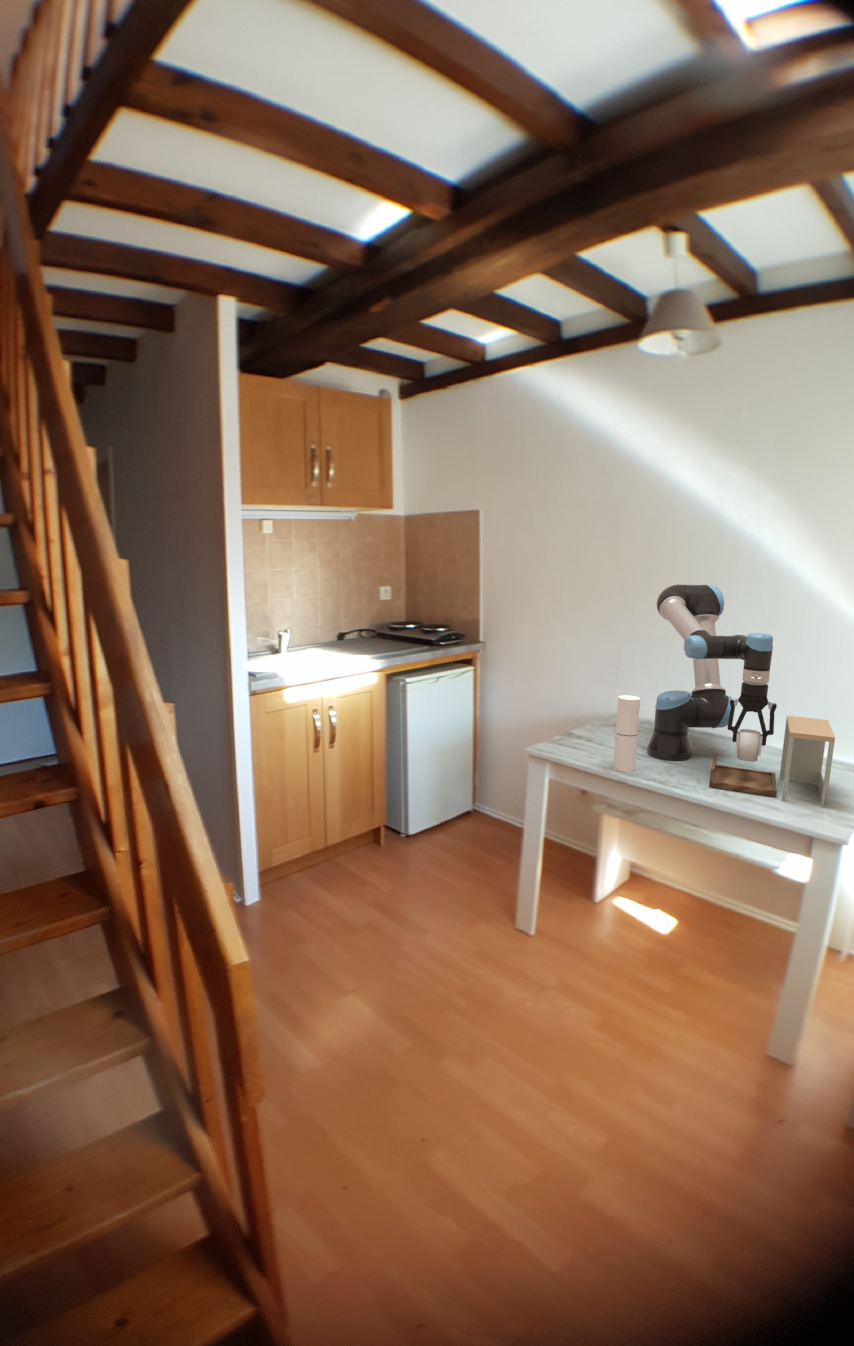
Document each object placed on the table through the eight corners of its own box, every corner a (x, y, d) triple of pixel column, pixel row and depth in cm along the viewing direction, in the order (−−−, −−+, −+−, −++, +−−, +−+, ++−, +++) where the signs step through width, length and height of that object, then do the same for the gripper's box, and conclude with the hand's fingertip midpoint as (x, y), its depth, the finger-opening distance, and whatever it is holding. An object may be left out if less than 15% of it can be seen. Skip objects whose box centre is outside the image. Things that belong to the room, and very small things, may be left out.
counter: (781, 800, 204) (789, 732, 200) (779, 778, 224) (786, 715, 220) (825, 807, 199) (835, 737, 195) (819, 784, 219) (827, 720, 215)
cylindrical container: (623, 773, 227) (628, 700, 222) (608, 766, 233) (613, 696, 228) (639, 770, 230) (644, 698, 225) (624, 764, 236) (629, 694, 231)
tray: (709, 786, 214) (710, 768, 213) (712, 769, 231) (714, 752, 230) (776, 796, 206) (778, 778, 205) (774, 778, 223) (776, 761, 221)
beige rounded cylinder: (736, 759, 215) (739, 732, 213) (737, 755, 220) (739, 728, 219) (757, 762, 212) (760, 735, 211) (757, 757, 218) (760, 730, 216)
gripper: (722, 681, 213) (715, 752, 217) (789, 687, 205) (781, 760, 209) (723, 677, 219) (716, 746, 223) (788, 683, 211) (780, 754, 215)
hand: (747, 753), depth 216 cm, fingers closed on beige rounded cylinder, 6 cm apart
